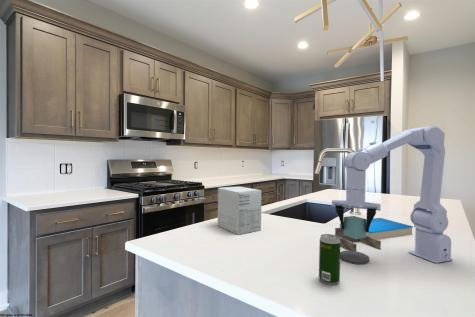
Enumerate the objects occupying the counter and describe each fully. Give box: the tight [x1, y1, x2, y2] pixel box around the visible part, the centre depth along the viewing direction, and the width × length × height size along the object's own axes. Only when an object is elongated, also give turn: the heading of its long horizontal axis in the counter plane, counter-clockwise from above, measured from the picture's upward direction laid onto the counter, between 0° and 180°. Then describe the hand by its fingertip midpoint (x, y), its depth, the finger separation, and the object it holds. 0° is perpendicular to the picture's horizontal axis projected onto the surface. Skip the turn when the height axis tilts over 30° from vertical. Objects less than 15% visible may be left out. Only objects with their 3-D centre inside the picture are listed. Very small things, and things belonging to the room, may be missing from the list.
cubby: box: [334, 226, 382, 251], centre depth 99 cm, size 10×12×6 cm
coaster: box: [340, 250, 370, 265], centre depth 88 cm, size 9×9×1 cm
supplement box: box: [217, 186, 262, 235], centre depth 122 cm, size 17×13×18 cm
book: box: [339, 217, 414, 240], centre depth 119 cm, size 17×4×25 cm
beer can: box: [318, 233, 341, 286], centre depth 72 cm, size 5×5×12 cm
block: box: [344, 215, 367, 239], centre depth 88 cm, size 5×4×6 cm
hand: (354, 230), depth 87 cm, fingers closed on block, 7 cm apart
